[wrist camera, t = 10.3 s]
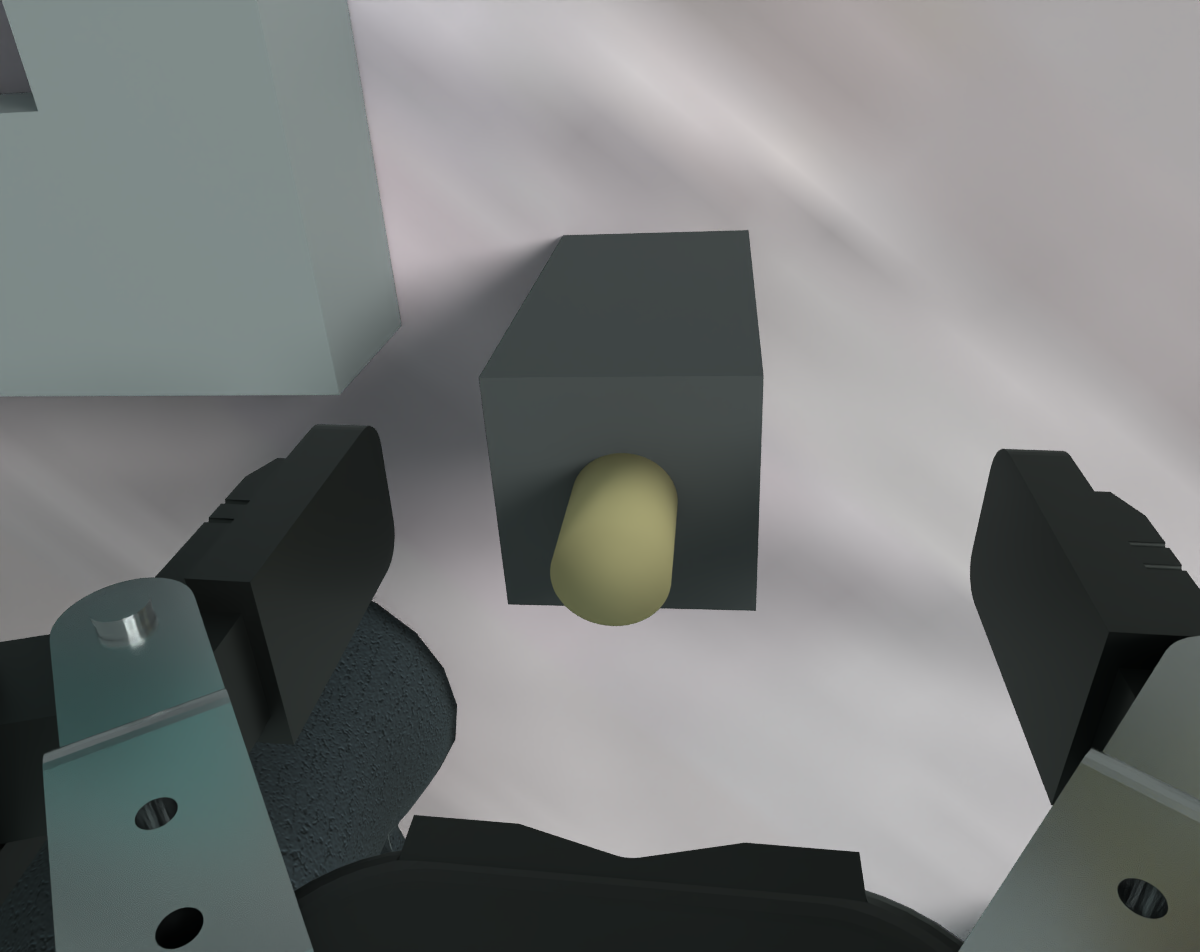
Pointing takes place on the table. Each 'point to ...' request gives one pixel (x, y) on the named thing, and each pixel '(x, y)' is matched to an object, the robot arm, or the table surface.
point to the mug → (322, 770)
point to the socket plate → (188, 202)
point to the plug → (630, 428)
